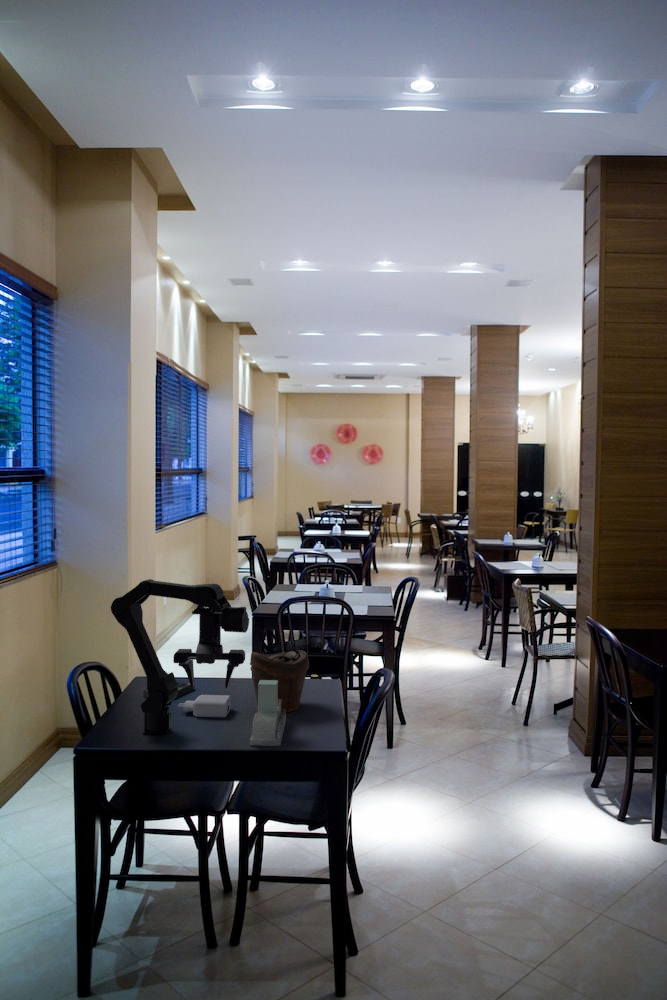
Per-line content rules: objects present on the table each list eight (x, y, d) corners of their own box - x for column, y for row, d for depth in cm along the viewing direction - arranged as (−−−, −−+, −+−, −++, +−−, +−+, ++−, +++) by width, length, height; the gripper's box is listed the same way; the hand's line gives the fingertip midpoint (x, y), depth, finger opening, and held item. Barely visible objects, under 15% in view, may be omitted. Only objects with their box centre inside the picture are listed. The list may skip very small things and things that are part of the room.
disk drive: (167, 688, 256) (142, 698, 242) (168, 680, 256) (142, 690, 242) (194, 691, 253) (170, 702, 239) (194, 682, 253) (170, 693, 239)
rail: (249, 745, 198) (249, 720, 198) (258, 720, 219) (258, 698, 219) (280, 745, 198) (280, 721, 198) (285, 721, 219) (286, 698, 219)
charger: (182, 708, 231) (230, 709, 231) (174, 717, 222) (225, 719, 221) (182, 693, 231) (230, 694, 231) (174, 701, 222) (225, 702, 221)
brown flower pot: (319, 701, 240) (318, 645, 239) (293, 719, 221) (292, 658, 221) (268, 696, 246) (268, 641, 246) (239, 713, 228) (238, 653, 227)
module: (257, 729, 206) (258, 684, 206) (259, 724, 211) (259, 680, 211) (275, 730, 206) (276, 684, 206) (277, 724, 211) (277, 680, 211)
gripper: (169, 636, 197) (168, 695, 198) (240, 637, 197) (239, 696, 198) (178, 628, 209) (177, 684, 209) (245, 629, 208) (245, 685, 209)
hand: (209, 687), depth 206 cm, fingers open, 9 cm apart
